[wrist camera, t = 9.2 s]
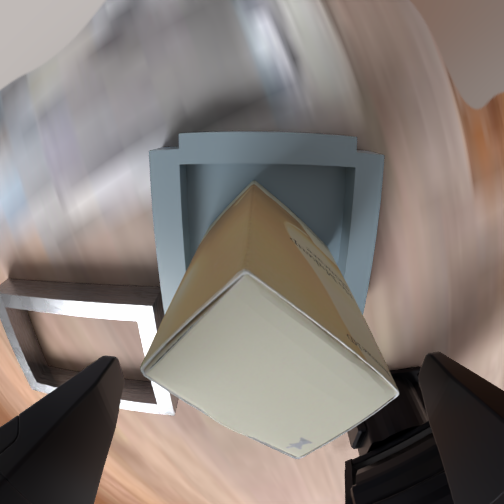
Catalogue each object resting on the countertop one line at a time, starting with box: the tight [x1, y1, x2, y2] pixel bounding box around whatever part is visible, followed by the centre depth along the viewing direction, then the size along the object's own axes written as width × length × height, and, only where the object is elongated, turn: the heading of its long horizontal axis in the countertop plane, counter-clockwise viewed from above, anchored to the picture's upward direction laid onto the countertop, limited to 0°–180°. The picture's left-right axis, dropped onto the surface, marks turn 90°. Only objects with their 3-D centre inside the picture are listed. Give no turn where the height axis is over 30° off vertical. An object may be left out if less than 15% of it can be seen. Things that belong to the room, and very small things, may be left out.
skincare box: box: [140, 180, 399, 459], centre depth 13 cm, size 6×4×12 cm
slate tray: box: [149, 131, 384, 315], centre depth 19 cm, size 12×12×2 cm
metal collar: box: [0, 279, 179, 415], centre depth 22 cm, size 14×10×2 cm
